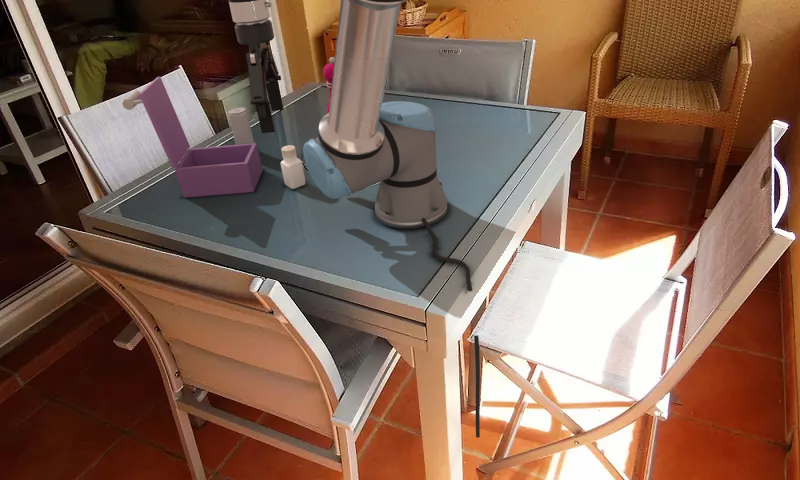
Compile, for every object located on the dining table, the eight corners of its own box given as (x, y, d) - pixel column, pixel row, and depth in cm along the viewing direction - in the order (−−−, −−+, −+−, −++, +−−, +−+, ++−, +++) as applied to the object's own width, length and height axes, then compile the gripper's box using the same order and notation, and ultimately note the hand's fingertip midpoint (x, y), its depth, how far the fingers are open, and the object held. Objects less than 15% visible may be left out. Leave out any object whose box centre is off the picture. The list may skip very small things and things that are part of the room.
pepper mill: (343, 120, 171) (333, 52, 160) (359, 125, 166) (350, 55, 155) (324, 128, 166) (313, 58, 156) (340, 133, 162) (329, 62, 151)
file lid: (160, 76, 132) (132, 82, 133) (142, 93, 122) (112, 99, 123) (190, 146, 142) (164, 151, 142) (175, 167, 132) (147, 172, 132)
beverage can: (259, 151, 156) (250, 108, 149) (244, 157, 153) (234, 114, 146) (249, 147, 159) (239, 105, 152) (234, 153, 156) (223, 111, 149)
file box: (262, 170, 145) (256, 142, 142) (254, 192, 136) (247, 163, 132) (197, 175, 146) (189, 148, 142) (183, 197, 136) (174, 169, 132)
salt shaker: (292, 190, 135) (284, 153, 129) (283, 185, 137) (276, 148, 132) (306, 184, 137) (300, 147, 131) (298, 179, 139) (291, 143, 134)
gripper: (260, 33, 106) (282, 140, 118) (279, 7, 127) (296, 100, 139) (220, 37, 106) (245, 144, 118) (245, 10, 127) (265, 103, 139)
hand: (273, 120), depth 128 cm, fingers open, 13 cm apart
